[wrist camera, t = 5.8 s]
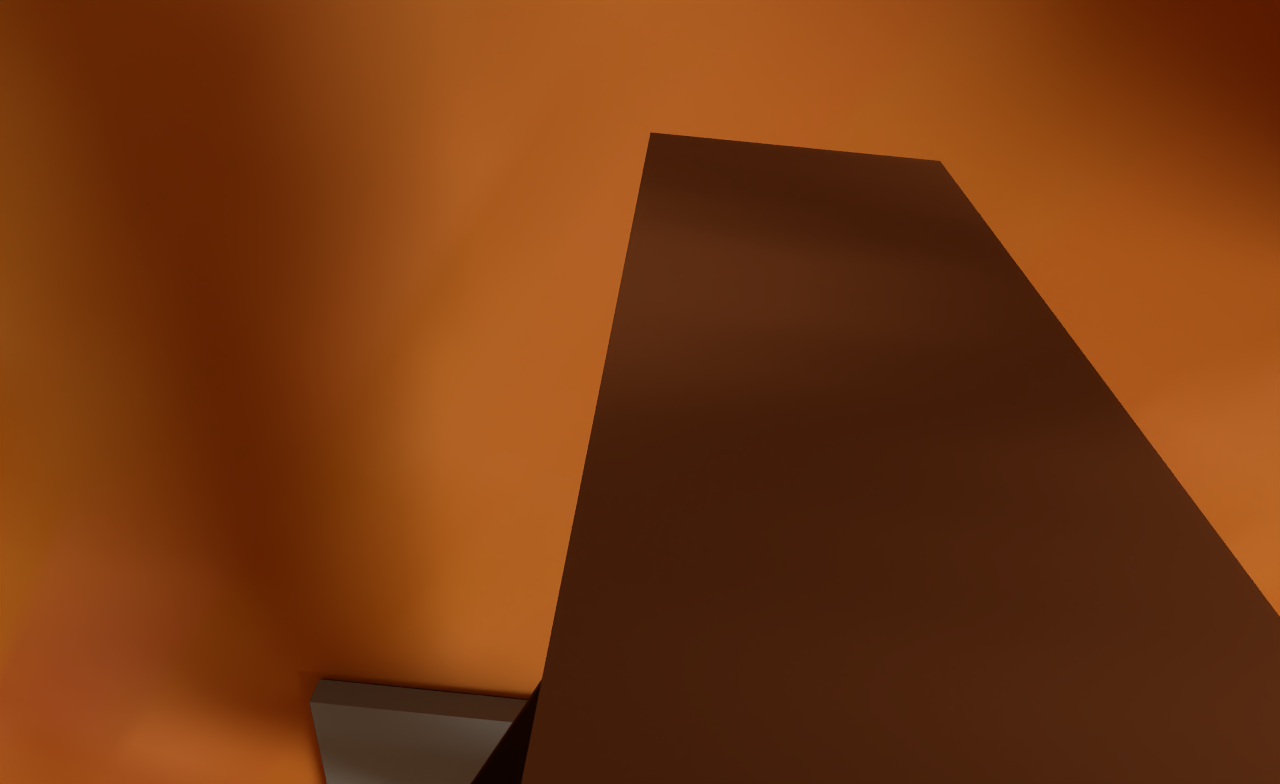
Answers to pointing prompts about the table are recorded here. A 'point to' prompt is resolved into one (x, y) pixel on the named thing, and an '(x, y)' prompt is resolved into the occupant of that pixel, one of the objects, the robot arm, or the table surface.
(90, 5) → the table surface
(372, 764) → the grey square plate
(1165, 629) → the brown upright panel
